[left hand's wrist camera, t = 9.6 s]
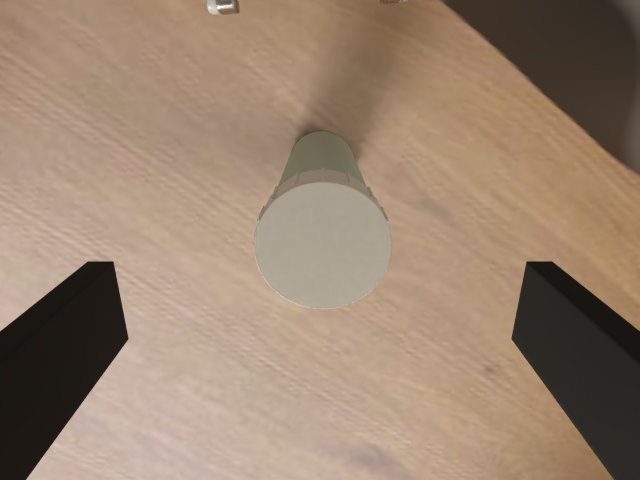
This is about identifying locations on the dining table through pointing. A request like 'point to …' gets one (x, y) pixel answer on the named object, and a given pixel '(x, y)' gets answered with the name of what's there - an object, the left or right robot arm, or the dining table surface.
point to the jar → (321, 156)
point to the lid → (322, 240)
